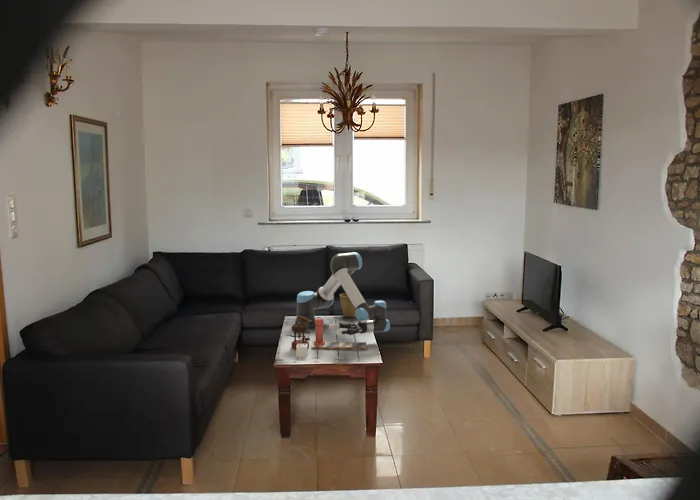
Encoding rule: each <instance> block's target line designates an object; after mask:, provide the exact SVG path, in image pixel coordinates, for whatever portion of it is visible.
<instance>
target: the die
mask: <svg viewBox="0 0 700 500" xmlns="http://www.w3.org/2000/svg"><path fill="white" fill-rule="evenodd" d="M295 351H296V353H295V355H296V357H297V358H307V357H308V344H297V346H296V350H295Z"/></svg>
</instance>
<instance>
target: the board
mask: <svg viewBox="0 0 700 500" xmlns="http://www.w3.org/2000/svg"><path fill="white" fill-rule="evenodd" d="M311 342H312V343H311V346H310V349H311V350H312V351H314V350H316V351H317V350H318V351H319V350H321V351H323V350H324V351H330V350H331V351H367V349H368V348H367V347H368V346H367V341H366V342H365V341H364V342H363V341H362V342H361V341H325V345H323V346H316V345H314V341H311Z"/></svg>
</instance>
